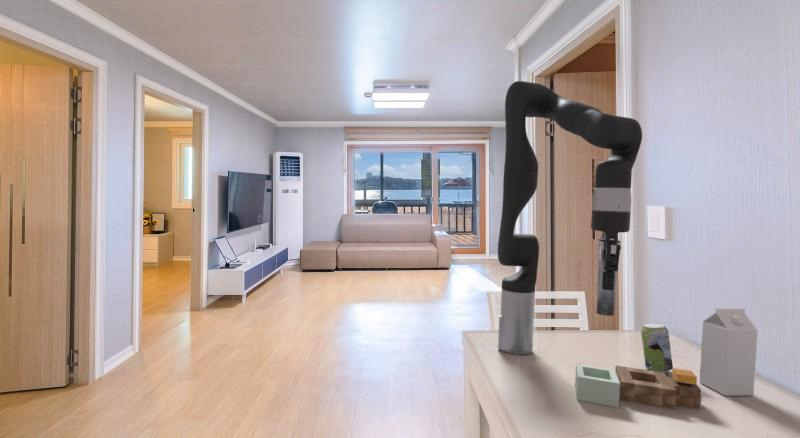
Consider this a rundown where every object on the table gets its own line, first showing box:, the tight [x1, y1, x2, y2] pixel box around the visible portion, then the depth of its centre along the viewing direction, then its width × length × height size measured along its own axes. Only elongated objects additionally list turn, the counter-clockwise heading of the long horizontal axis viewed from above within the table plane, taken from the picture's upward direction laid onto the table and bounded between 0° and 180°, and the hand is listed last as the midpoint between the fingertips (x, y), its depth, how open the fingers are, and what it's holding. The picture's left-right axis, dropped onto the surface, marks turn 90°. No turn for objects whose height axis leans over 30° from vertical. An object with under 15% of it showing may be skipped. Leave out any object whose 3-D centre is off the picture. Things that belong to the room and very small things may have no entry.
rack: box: [574, 363, 620, 408], centre depth 91 cm, size 8×8×5 cm
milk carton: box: [699, 307, 758, 397], centre depth 96 cm, size 7×7×19 cm
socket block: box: [614, 365, 702, 410], centre depth 91 cm, size 15×10×4 cm, turn 70°
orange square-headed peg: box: [671, 367, 698, 386], centre depth 89 cm, size 4×4×6 cm
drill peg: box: [595, 249, 618, 317], centre depth 90 cm, size 4×4×14 cm
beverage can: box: [640, 322, 674, 374], centre depth 106 cm, size 6×7×12 cm
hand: (606, 287), depth 90 cm, fingers closed on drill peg, 3 cm apart
